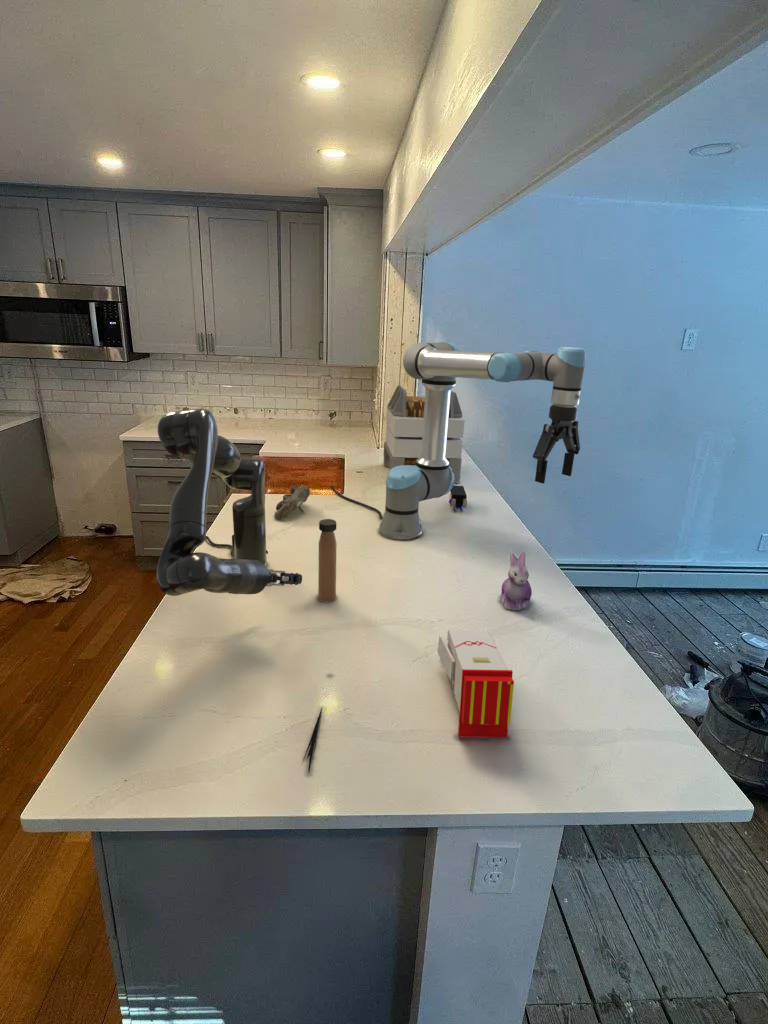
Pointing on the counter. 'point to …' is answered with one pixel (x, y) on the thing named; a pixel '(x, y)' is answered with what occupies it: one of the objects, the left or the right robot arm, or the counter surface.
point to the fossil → (292, 501)
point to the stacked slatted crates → (419, 431)
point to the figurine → (516, 584)
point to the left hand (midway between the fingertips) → (285, 578)
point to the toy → (478, 682)
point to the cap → (327, 525)
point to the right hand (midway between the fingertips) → (553, 478)
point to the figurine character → (458, 497)
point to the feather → (313, 740)
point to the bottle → (327, 566)
